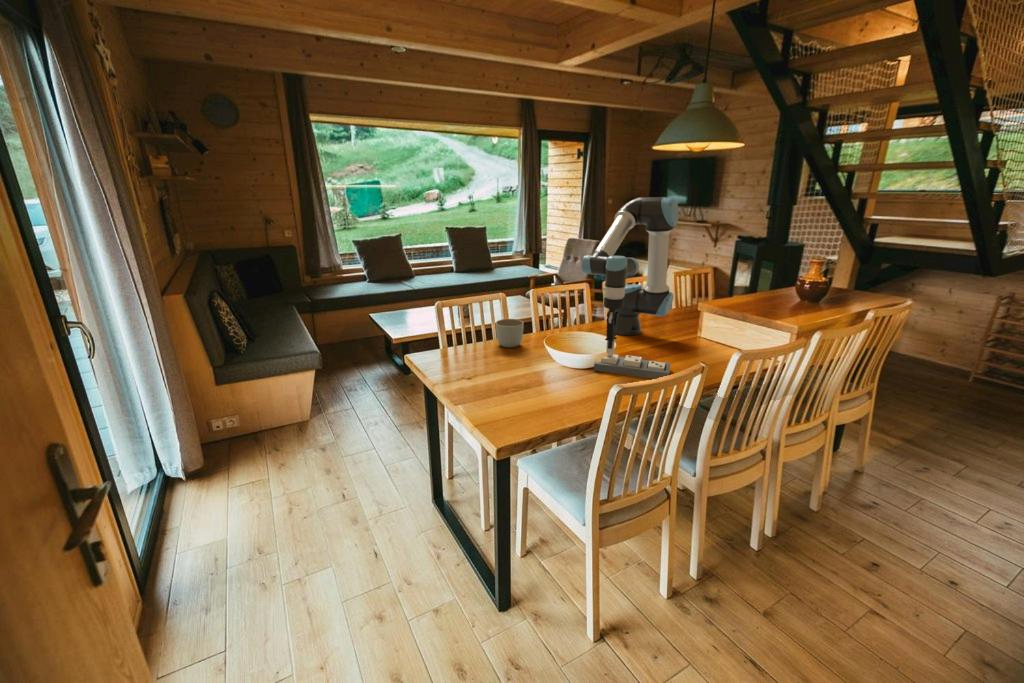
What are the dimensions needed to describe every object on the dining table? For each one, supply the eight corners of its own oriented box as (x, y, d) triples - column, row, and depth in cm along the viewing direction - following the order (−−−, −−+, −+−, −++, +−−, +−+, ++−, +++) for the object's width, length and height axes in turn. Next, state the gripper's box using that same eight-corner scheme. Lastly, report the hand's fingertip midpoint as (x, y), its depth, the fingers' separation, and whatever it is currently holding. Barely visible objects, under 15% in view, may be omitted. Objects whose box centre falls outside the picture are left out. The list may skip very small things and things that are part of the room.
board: (599, 361, 195) (599, 354, 194) (670, 370, 186) (670, 363, 185) (593, 370, 185) (594, 363, 184) (668, 380, 176) (669, 373, 175)
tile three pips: (648, 366, 186) (649, 360, 185) (664, 368, 184) (665, 362, 183) (647, 372, 180) (647, 365, 180) (663, 374, 178) (664, 367, 178)
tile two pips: (625, 361, 188) (626, 354, 188) (641, 362, 186) (641, 356, 186) (623, 366, 183) (624, 359, 182) (639, 368, 181) (640, 361, 180)
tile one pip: (603, 358, 192) (603, 352, 191) (618, 360, 190) (618, 354, 189) (600, 363, 186) (600, 357, 185) (615, 365, 184) (616, 359, 183)
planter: (525, 341, 219) (525, 319, 216) (520, 350, 207) (521, 327, 204) (499, 340, 221) (498, 318, 218) (493, 349, 209) (493, 325, 206)
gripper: (607, 293, 187) (603, 349, 194) (601, 300, 175) (597, 359, 182) (626, 294, 184) (621, 351, 191) (621, 301, 172) (616, 362, 180)
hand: (609, 355), depth 187 cm, fingers closed
